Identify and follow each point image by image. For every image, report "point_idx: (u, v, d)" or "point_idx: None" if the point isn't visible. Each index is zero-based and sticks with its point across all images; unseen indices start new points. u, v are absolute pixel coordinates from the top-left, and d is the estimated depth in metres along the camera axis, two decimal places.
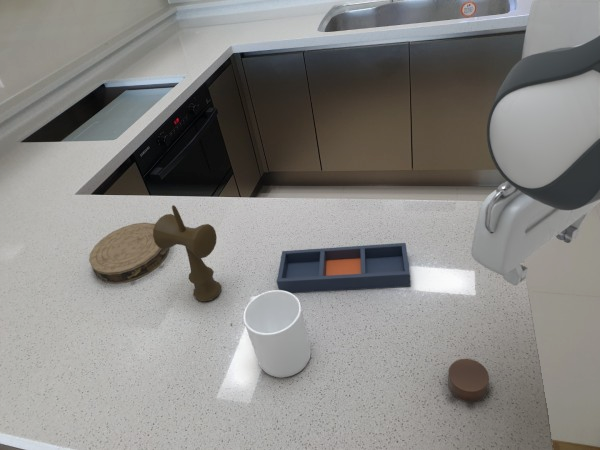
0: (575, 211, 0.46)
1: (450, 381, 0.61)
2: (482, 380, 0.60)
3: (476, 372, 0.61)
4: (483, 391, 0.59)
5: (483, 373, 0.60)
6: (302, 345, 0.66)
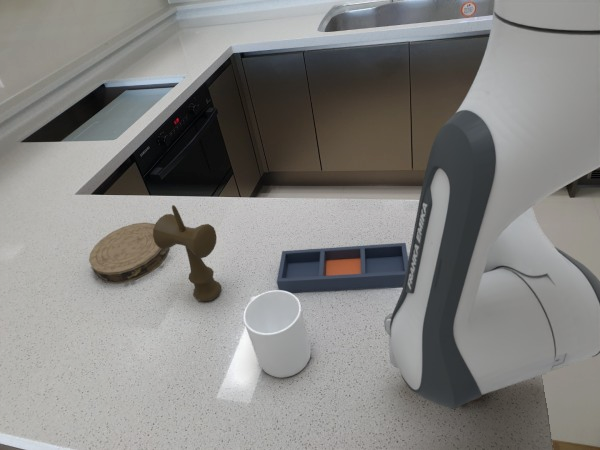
0: None
1: None
2: None
3: None
4: None
5: None
6: (302, 345, 0.66)
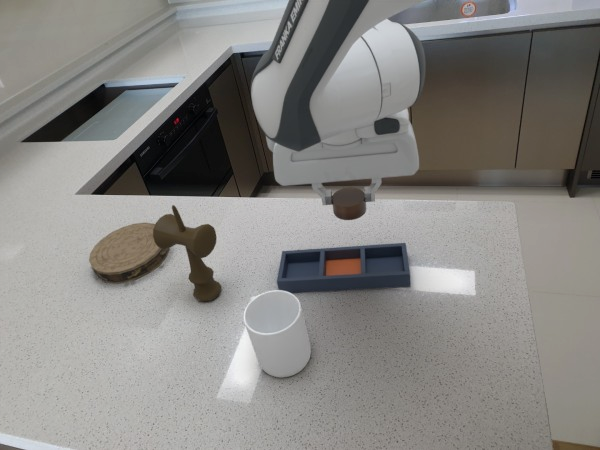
0: (354, 169, 0.63)
1: (332, 203, 0.69)
2: (359, 199, 0.67)
3: (355, 194, 0.68)
4: (359, 209, 0.67)
5: (361, 195, 0.68)
6: (302, 345, 0.66)
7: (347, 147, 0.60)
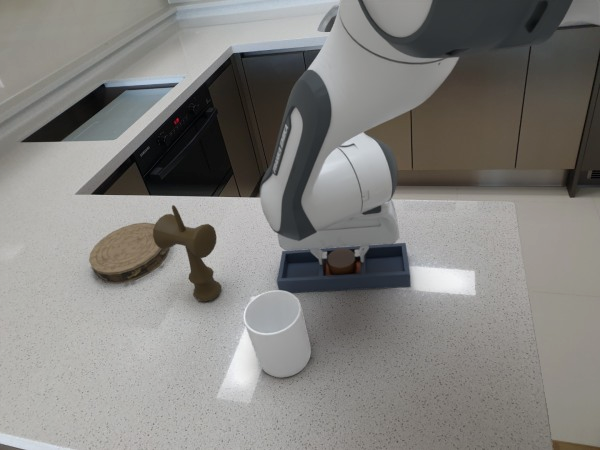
0: (345, 239, 0.76)
1: (328, 263, 0.81)
2: (350, 260, 0.80)
3: (347, 256, 0.81)
4: (350, 268, 0.80)
5: (352, 256, 0.81)
6: (302, 345, 0.66)
7: (339, 223, 0.72)
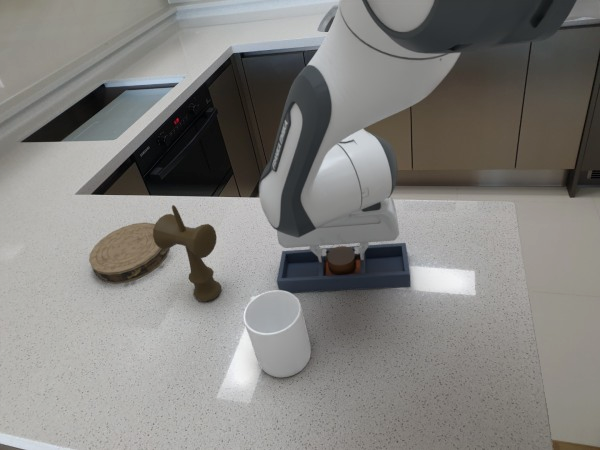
0: (344, 236, 0.75)
1: (327, 260, 0.81)
2: (350, 258, 0.79)
3: (347, 253, 0.81)
4: (350, 266, 0.79)
5: (351, 254, 0.80)
6: (302, 345, 0.66)
7: (338, 220, 0.72)
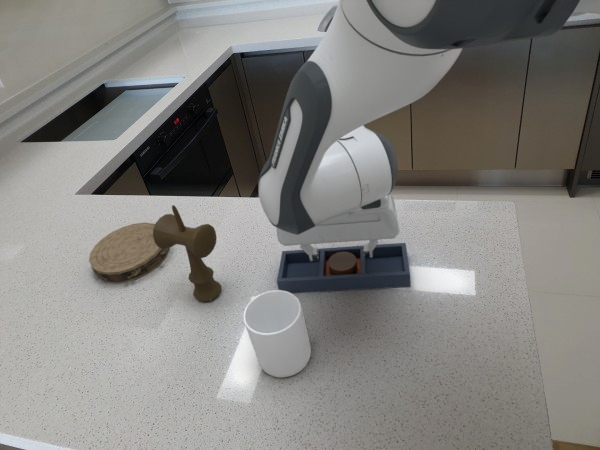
0: (344, 234, 0.75)
1: None
2: (351, 263, 0.80)
3: (348, 259, 0.81)
4: (351, 271, 0.80)
5: (352, 259, 0.81)
6: (302, 345, 0.66)
7: (338, 218, 0.72)
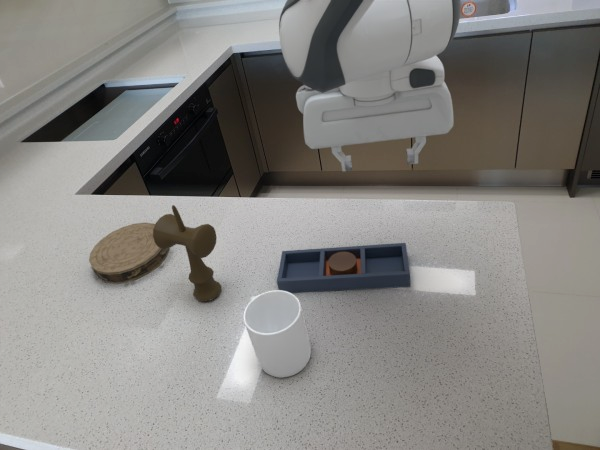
0: (386, 129, 0.62)
1: None
2: (351, 263, 0.80)
3: (348, 259, 0.81)
4: (351, 271, 0.80)
5: (352, 259, 0.81)
6: (302, 345, 0.66)
7: (381, 103, 0.58)
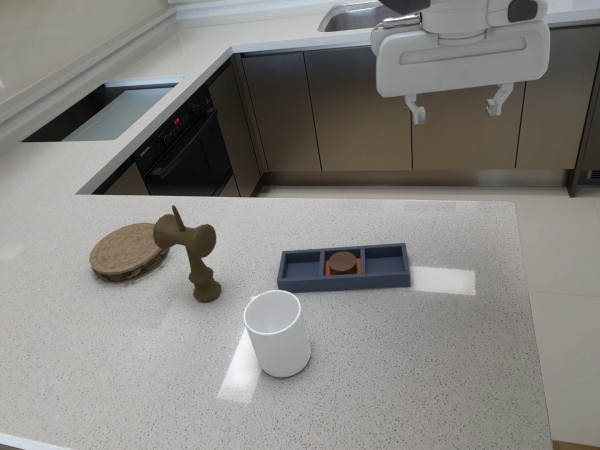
0: (471, 73, 0.56)
1: None
2: (351, 263, 0.80)
3: (348, 259, 0.81)
4: (351, 271, 0.80)
5: (352, 259, 0.81)
6: (302, 345, 0.66)
7: (471, 41, 0.52)
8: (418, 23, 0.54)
